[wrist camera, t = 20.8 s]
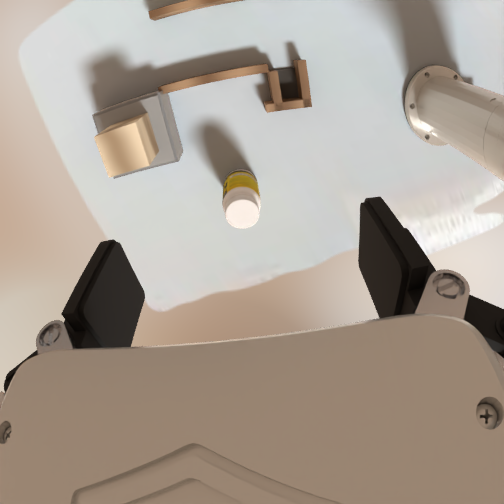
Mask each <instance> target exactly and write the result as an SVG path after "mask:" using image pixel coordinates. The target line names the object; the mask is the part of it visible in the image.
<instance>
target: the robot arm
mask: <svg viewBox="0 0 504 504" xmlns="http://www.w3.org/2000/svg"><path fill="white" fill-rule="evenodd" d="M405 112H406V117H407V120H408V123H409V125H410V127H411V129H412V130H413V131H414V133H415V134H416V135H417V136H418V137H419V138H420V139H422V140H423V141H425V142H427V143H429V144H431V145H436V146H442V145H447V144H449V145H451V146H452V147H454V148H455V149H457V150H459V151H460V152H462V153H463V154H465V155H466V156H468V157H469V158H471V159H472V160H474V161H475V162H477V163H478V164H480V165H481V166H483V167H484V168H485V169H487V170H488V171H490V172H491V173H492V174H494V175H495V176H497V177H498V178H499V179H501V180H502V181H504V96H503V95H500V94H497V93H495V92H492V91H489V90H486V89H483V88H481V87H478V86H474V85H471V84H468V83H465V82H464V81H463V79H462V78H461V77H460V76H459V75H458V74H457V73H456V72H455V71H453V70H451V69H449V68H447V67H444V66H438V65H433V66H428V67H425V68H423V69H421V70H420V71H418V72H417V73H416V74H415V75H414V77H413V78H412V79H411V81H410V83H409V85H408V88H407V91H406V95H405ZM358 261H359V268H360V271H361V273H362V275H363V278H364V280H365V282H366V285H367V287H368V290H369V292H370V295H371V297H372V300H373V303H374V305H375V308H376V310H377V313H378V315H379V319H373V320H367V321H361V322H355V323H350V324H344V325H338V326H331V327H325V328H319V329H312V330H305V331H298V332H291V333H284V334H276V335H269V336H260V337H251V338H243V339H233V340H223V341H212V342H203V343H202V342H201V343H189V344H176V345H160V346H141V347H131V344H132V340H133V336H134V332H135V329H136V326H137V322H138V319H139V316H140V313H141V309H142V306H143V303H144V299H145V293H144V290H143V288H142V286H141V284H140V283H139V281H138V279H137V277H136V275H135V273H134V271H133V269H132V267H131V265H130V263H129V261H128V259H127V257H126V255H125V253H124V250H123V248H122V246H121V244H120V243H118V242H116V241H115V240H108V241H103V242H101V243H100V244H99V245H98V247H97V249H96V251H95V252H94V254H93V256H92V257H91V259H90V261H89V263H88V265H87V266H86V268H85V270H84V272H83V273H82V275H81V277H80V279H79V281H78V283H77V285H76V286H75V288H74V290H73V292H72V294H71V296H70V298H69V300H68V302H67V304H66V306H65V308H64V310H63V312H62V315H63V317H64V318H65V321H64V323H63V322H62V321H60V320H55V321H51V322H50V323H48V324H46V325H45V326H44V327H43V328H42V329H41V330H40V332H39V334H38V336H37V339H36V346H37V350H36V351H35V352H34V353H33V354H31V355H30V356H29V357H27V358H26V359H25V360H24V361H22V362H21V363H20V364H19V365H17V366H16V367H15V368H14V369H13V370H11V371H10V372H9V373H8V374H7V376H6V380H5V383H4V390H5V393H3V392H2V391H1V392H0V504H504V309H502V308H499V307H497V306H495V305H492V304H490V303H488V302H486V301H483V300H481V299H479V298H476V297H474V296H471V295H469V292H470V289H469V285H468V282H467V281H466V280H465V278H464V277H463V276H461V275H460V274H458V273H456V272H454V271H451V270H438V271H436V270H435V268H434V267H433V265H432V264H431V262H430V261H429V259H428V258H427V256H426V255H425V253H424V252H423V250H422V249H421V247H420V246H419V244H418V243H417V241H416V240H415V239H414V237H413V236H412V234H411V233H410V231H409V230H408V229H407V228H403V226H402V225H401V223H400V222H399V221H398V219H397V218H396V216H395V215H394V214H393V212H392V211H391V210H390V208H389V207H388V206H387V204H386V203H385V202H384V200H383V199H382V198H381V197H373V198H366V199H365V203H361V205H360V237H359V260H358Z"/></svg>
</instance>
